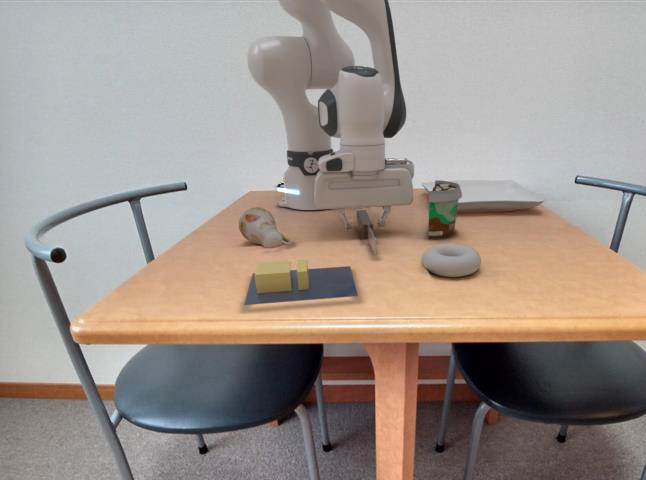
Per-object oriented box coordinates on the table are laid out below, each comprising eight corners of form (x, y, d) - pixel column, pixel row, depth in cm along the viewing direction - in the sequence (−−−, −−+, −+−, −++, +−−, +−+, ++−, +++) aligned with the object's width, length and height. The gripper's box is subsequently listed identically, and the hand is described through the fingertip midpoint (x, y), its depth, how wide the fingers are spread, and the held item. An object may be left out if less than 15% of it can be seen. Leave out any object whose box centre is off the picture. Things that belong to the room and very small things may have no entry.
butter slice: (299, 277, 69) (297, 259, 67) (308, 276, 69) (307, 259, 68) (298, 290, 64) (296, 271, 63) (308, 289, 64) (307, 270, 63)
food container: (458, 243, 87) (461, 192, 82) (427, 241, 88) (429, 191, 83) (460, 225, 97) (463, 180, 93) (433, 224, 99) (435, 179, 94)
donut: (411, 273, 73) (466, 284, 68) (411, 254, 71) (468, 264, 66) (436, 256, 80) (488, 264, 75) (437, 238, 79) (490, 245, 74)
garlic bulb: (262, 258, 80) (236, 209, 79) (255, 264, 89) (231, 220, 88) (298, 241, 83) (272, 193, 82) (287, 249, 92) (264, 206, 90)
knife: (357, 227, 97) (356, 209, 95) (366, 227, 97) (365, 209, 96) (369, 259, 78) (369, 238, 77) (380, 259, 79) (380, 237, 77)
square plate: (510, 191, 130) (512, 178, 128) (544, 215, 105) (547, 199, 103) (420, 193, 129) (421, 179, 127) (433, 217, 104) (434, 201, 102)
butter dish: (253, 278, 71) (250, 255, 69) (350, 271, 73) (349, 249, 72) (244, 311, 60) (240, 285, 59) (358, 302, 63) (357, 276, 61)
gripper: (410, 155, 89) (409, 220, 95) (311, 158, 87) (316, 226, 93) (418, 159, 84) (416, 228, 90) (311, 163, 81) (317, 234, 87)
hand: (364, 227), depth 91 cm, fingers open, 6 cm apart
